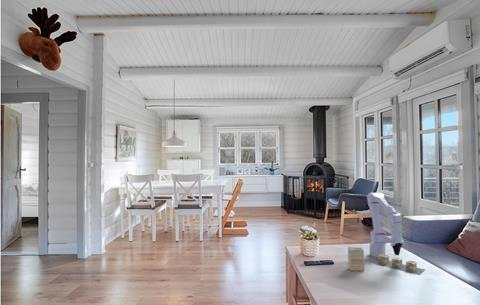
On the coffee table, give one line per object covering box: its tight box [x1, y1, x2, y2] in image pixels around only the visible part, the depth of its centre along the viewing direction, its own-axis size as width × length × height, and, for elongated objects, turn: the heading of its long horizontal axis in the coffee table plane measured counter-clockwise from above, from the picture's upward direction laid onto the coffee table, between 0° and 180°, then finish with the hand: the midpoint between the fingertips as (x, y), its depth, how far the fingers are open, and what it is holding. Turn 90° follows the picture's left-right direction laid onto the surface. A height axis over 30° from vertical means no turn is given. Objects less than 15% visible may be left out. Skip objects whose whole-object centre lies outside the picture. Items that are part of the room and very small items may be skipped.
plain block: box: [391, 256, 403, 268], centre depth 180 cm, size 4×4×4 cm
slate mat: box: [370, 257, 426, 276], centre depth 180 cm, size 28×12×1 cm, turn 42°
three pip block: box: [405, 259, 418, 271], centre depth 174 cm, size 4×4×5 cm
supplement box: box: [347, 246, 365, 272], centre depth 176 cm, size 8×5×13 cm, turn 84°
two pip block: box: [378, 254, 390, 264], centre depth 186 cm, size 4×4×5 cm
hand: (396, 254), depth 180 cm, fingers closed
